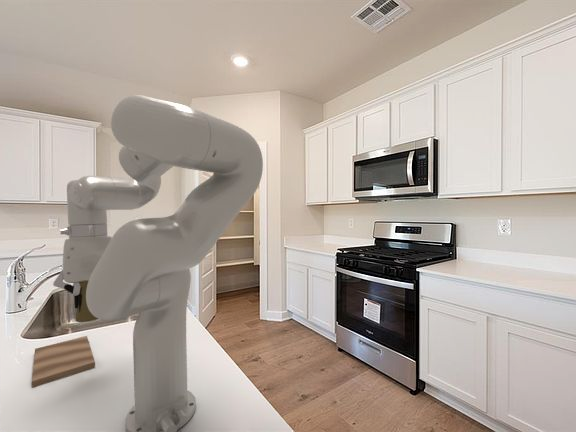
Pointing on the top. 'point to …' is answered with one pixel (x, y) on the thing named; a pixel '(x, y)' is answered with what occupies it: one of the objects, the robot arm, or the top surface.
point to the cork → (84, 306)
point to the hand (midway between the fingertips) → (91, 307)
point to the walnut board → (61, 360)
